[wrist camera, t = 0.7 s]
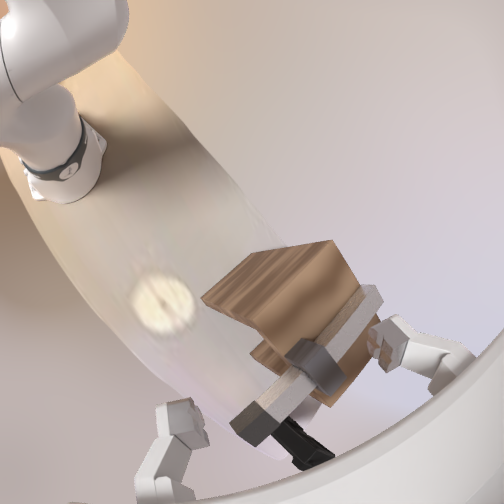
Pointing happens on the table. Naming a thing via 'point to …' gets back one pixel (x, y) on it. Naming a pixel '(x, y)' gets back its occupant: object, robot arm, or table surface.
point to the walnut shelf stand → (295, 311)
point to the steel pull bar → (297, 380)
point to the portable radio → (301, 445)
